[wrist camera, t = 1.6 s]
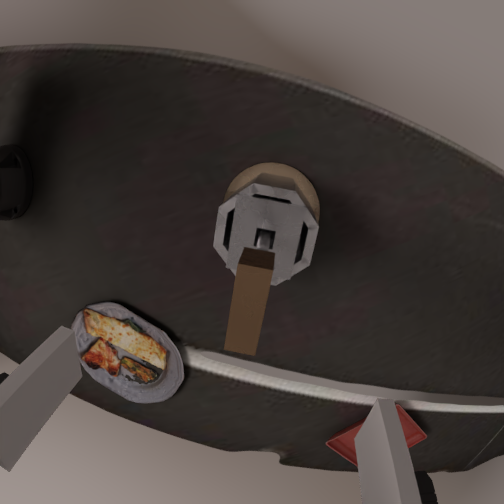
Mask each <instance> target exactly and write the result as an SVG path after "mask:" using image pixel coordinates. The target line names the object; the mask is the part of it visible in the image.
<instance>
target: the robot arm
mask: <svg viewBox="0 0 504 504" xmlns="http://www.w3.org/2000/svg"><path fill="white" fill-rule="evenodd" d="M32 191H33V176H32V170H31V166H30V163H29V161H28V158H27V156H26V155H25V153H24V152H23V151H22V150H21V149H20V148H19V147H17V146H15V145H4V146H0V220H5V221H7V220H12V219H15V218H17V217H19V216H21V215H22V214H23V213H24V212H25V211H26V209H27V208H28V206H29V204H30V201H31V197H32ZM81 377H82V373H81V368H80V362H79V356H78V350H77V344H76V337H75V331H73V330H71V329H68V328H65V327H63V326H61V327H60V328H59V329H58V330H56V331H55V332H54V333H53V334H52V335H51V336H50V337H49V338H48V339H47V340H46V341H45V342H43V343H42V344H41V345H40V346H39V347H38V348H37V349H36V350H35V351H34V352H33V353H32V354H31V355H30V356H29V357H28V358H27V359H26V360H24V361H23V362H22V363H21V364H20V365H19V366H18V367H17V368H16V369H15V370H14V371H13V372H12V373H11V374H10V375H8V374H6V373H2V374H0V466H2V467H3V468H4V469H6V470H7V471H8V472H10V471H11V469H12V468H13V466H14V465H15V463H16V462H17V461H18V459H19V458H20V457H21V455H22V454H23V452H24V451H25V450H26V448H27V447H28V446H29V444H30V443H31V442H32V440H33V439H34V438H35V436H36V435H37V434H38V432H39V431H40V430H41V428H42V427H43V426H44V424H45V423H46V422H47V421H48V419H49V418H50V417H51V415H52V414H53V413H54V411H55V410H56V409H57V408H58V406H59V405H60V404H61V402H62V401H63V400H64V399H65V397H66V396H67V395H68V394H69V392H70V391H71V390H72V389H73V387H74V386H75V385H76V384H77V382H78V381H79V380H80V379H81ZM354 441H355V448H356V456H357V463H358V471H359V478H360V487H361V497H362V504H438V502H437V497H436V494H435V490H434V486H433V482H432V480H431V478H430V477H429V476H428V474H427V473H426V472H425V471H416V472H414V469H413V465H412V462H411V458H410V454H409V450H408V447H407V443H406V440H405V436H404V433H403V429H402V426H401V422H400V419H399V416H398V413H397V409H396V406H395V403H394V400H390V399H377V401H376V402H375V404H374V406H373V408H372V410H371V411H370V413H369V415H368V417H367V418H366V420H365V422H364V423H363V425H362V427H361V429H360V430H359V432H358V433H357V435H356V437H355V438H354Z"/></svg>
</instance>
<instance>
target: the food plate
mask: <svg viewBox="0 0 504 504" xmlns="http://www.w3.org/2000/svg"><path fill="white" fill-rule="evenodd" d="M71 330H73V331H75V337H76V344H77V350H78V356H79V362H80V363H81V364H82V365H83V367H84V369H85V370H86V371H87V372H88V373H89V374H90V375H91V376H92V377H93V379H94V380H96V381H98V382H99V383H101V384H102V385H103V386H105V387H107V388H108V389H110V390H111V391H113V392H115V393H117V394H118V395H120V396H122V397H124V398H125V399H127V400H130V401H133V402H136V403H154V402H160V401H164V400H166V399H168V398H169V397H171V396H172V395H173V394H174V393H175V392H176V391H177V389H178V388H179V386H180V384H181V383H182V381H183V379H184V369H183V368H184V367H183V362H182V358H181V355H180V353H179V352H178V349H177V348H176V346H175V345H174V343H173V342H172V341H171V339H170V338H169V337H168V336H167V334H166V333H164V331H162V330H160V329H159V328H157V327H156V326H154V325H152V324H151V323H149V322H148V321H146V320H145V319H143V318H141V317H140V316H138V315H136V314H134V313H133V312H131V311H129V310H128V309H127V308H124V307H123V306H122V305H120V304H116V303H114V302H109V301H107V302H105V301H104V302H99V303H92V304H88V305H86V306H85V307H84V308H83V309H82V310H80V311H79V312H78V313H77V314H76V316H75V318H74V320H73V322H72V325H71ZM110 344H113V346H111V345H110ZM140 359H143V360H145V361H148V362H150V363H151V364H153V365H155V366H157V367H159V368H162V369H163V372H162V374H161V375H160V377H159V379H158V380H157V381H155V382H152V383H148V384H147V385H145V384H142V385H141V384H139V383H136V382H133V383H131V382H130V381H131V380H130V381H127V378H125V377H124V378H125V379H126V381H124V380H125V379H124V378H123V375H122V374H124V376H126V374H127V375H129V376H130V377H131V378H132V379H134V378H133V376H131V375H134V374H135V375H136V376H138V377H139V378H140V379H141V380H143V381H145V382H148V381H149V380H150V379H151V380H153V379H154V378H155V377H157V372H155V371H154V370H152V369H151V368H150V367H148V366H147V365H145V364H146V363H143V361H141V360H140ZM118 374H119V375H118ZM118 376H119V377H118ZM120 377H121V379H120ZM115 378H116V379H115ZM123 379H124V380H123ZM134 380H135V379H134Z"/></svg>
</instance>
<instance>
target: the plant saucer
mask: <svg viewBox="0 0 504 504" xmlns="http://www.w3.org/2000/svg"><path fill="white" fill-rule="evenodd" d="M395 406H396V409H397V413H398V416H399V419H400V422H401V426H402V429H403V433H404V436H405V440H406V443H407V447H408V448H410V447H411V446H413V445H415V444H417V443H418V442H420V441H422V440H424V439H425V438H426V437H427V435H426V434H425V433H424V432H423V430H422V429H421V428H420V427H419V426H418V425H417V424H416V423H415V422H414V420H413V419H412V418H411V417H410V416H409V415H408V414H407V413H406V411H405V410H404V409H403V408H402V407H401V406H400V405H399V404H396V403H395ZM367 417H368V416H367ZM367 417H366V418H367ZM366 418H364V419H362V420H360V421H358V422H357V423H355V424H353V425H351V426H349V427H347V428H345V429H343V430H341V431H339V432H337V433H336V434H334V435H333V436H332V437H331V438H330V439H329V440H328V441H327V442H326V445H327V446H329V447H330V448H331V449H333V450H334V451H336V452H337V453H338V454H340V455H341V456H343V457H344V458H346V459H347V460H348V461H350V462H351V463H353V464H354V465H356V466H357V467H358V463H357V456H356V448H355V441H354V438H355V437H356V435H357V433H358V432H359V430H360V429H361V427H362V425H363V423H364V422H365V420H366Z"/></svg>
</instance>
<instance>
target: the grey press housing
mask: <svg viewBox="0 0 504 504" xmlns="http://www.w3.org/2000/svg"><path fill="white" fill-rule="evenodd" d="M319 215H320V206H319V200H318V196H317V194H316V191H315V189H314V187H313V186H312V184H311V183H310V181H309V180H308V179H307V178H306V177H305V176H304V175H303V174H302V173H301V172H299V171H298V170H296V169H295V168H293V167H291V166H288V165H285V164H281V163H275V162H267V163H260V164H257V165H254V166H251V167H249V168H247V169H246V170H244V171H242V172H241V173H240V174H239V175H238V176H237V177H236V178H235V179H234V180H233V181H232V183H231V184H230V185H229V187H228V189H227V191H226V194H225V197H224V202H223V204H222V205H221V206H219V209H218V216H217V223H216V230H215V237H214V245H213V247H214V248H215V249H216V251H217V252H218V253H219V255H220V256H221V257H222V259H223V260H224V261H225V263H226V268H230V269H231V271H232V272H233V273H234V275H235V276H236V271H237V265H238V262H239V259H240V257H241V254H242V252H243V249H244V247H248V248H253V249H254V248H256V245H257V244H254V242H255V236H256V230H257V228H261V229H267V230H272V231H276V233H275V238H274V243H273V247H269V250H268V251H269V252H274V253H275V260H274V261H275V265H274V271H273V275H272V279H271V284H270V285H275V286H276V285H278V284H279V283H281V282H283V281H285V280H290V278H291V276H293V275H294V274H296V273H298V272H299V271H301V270H303V269H304V268H306V267H308V266H309V265H310V262H311V258H312V254H313V250H314V246H315V241H316V237H317V233H318V229H319V225H318V221H319Z"/></svg>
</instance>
